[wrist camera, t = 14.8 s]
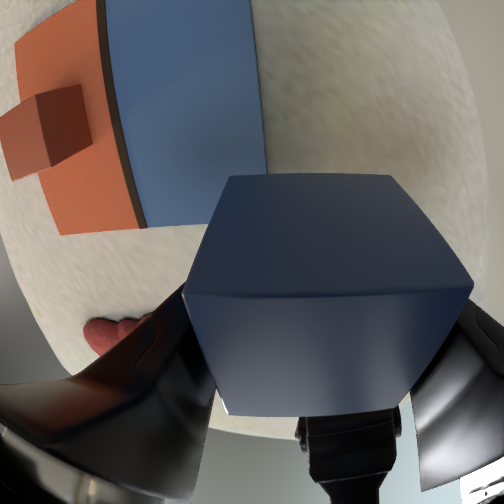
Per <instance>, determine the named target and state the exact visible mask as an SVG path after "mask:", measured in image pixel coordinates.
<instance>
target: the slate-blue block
mask: <svg viewBox="0 0 504 504" xmlns="http://www.w3.org/2000/svg"><path fill="white" fill-rule="evenodd" d="M473 288H474V281H473V280H472V278H471V277H470V275H469V274H468V272H467V271H466V269H465V267H464V266H463V265H462V263H461V262H460V260H459V259H458V257H457V256H456V254H455V253H454V252H453V250H452V249H451V247H450V246H449V245H448V243H447V242H446V241H445V239H444V238H443V237H442V235H441V234H440V233H439V231H438V230H437V229H436V227H435V226H434V225H433V224H432V222H431V221H430V220H429V219H428V217H427V216H426V215H425V214H424V213H423V211H422V210H421V209H420V208H419V207H418V205H417V204H416V203H415V202H414V201H413V200H412V198H411V197H410V196H409V195H408V194H407V193H406V192H405V190H404V189H403V188H402V187H401V186H400V185H399V184H398V183H397V182H396V181H395V180H394V178H393V177H392V176H390V175H376V174H345V173H288V174H257V175H237V176H229V177H228V179H227V182H226V184H225V186H224V189H223V191H222V193H221V196H220V198H219V200H218V203H217V205H216V208H215V210H214V212H213V215H212V217H211V220H210V222H209V224H208V227H207V229H206V232H205V234H204V237H203V239H202V242H201V244H200V247H199V249H198V252H197V254H196V257H195V259H194V262H193V265H192V267H191V270H190V272H189V275H188V278H187V280H186V283H185V286H184V288H183V291H182V297H183V300H184V303H185V306H186V309H187V312H188V314H189V317H190V320H191V323H192V326H193V329H194V331H195V334H196V337H197V340H198V342H199V345H200V348H201V350H202V353H203V356H204V358H205V361H206V363H207V366H208V368H209V371H210V373H211V376H212V378H213V381H214V383H215V386H216V388H217V391H218V393H219V395H220V398H221V400H222V402H223V405H224V407H225V409H226V412H227V414H228V415H236V416H255V417H309V416H328V415H341V414H351V413H360V412H368V411H376V410H383V409H389V408H395V407H396V406H397V405H398V404H399V403H400V402H401V401H402V399H403V398H404V397H405V396H406V394H407V393H408V392H409V391H410V389H411V388H412V387H413V385H414V384H415V383H416V381H417V380H418V379H419V377H420V376H421V375H422V373H423V372H424V370H425V369H426V368H427V366H428V365H429V363H430V362H431V360H432V359H433V357H434V356H435V354H436V353H437V351H438V350H439V348H440V347H441V345H442V344H443V342H444V340H445V339H446V337H447V335H448V334H449V332H450V330H451V329H452V327H453V325H454V324H455V322H456V320H457V318H458V317H459V315H460V313H461V311H462V309H463V307H464V305H465V304H466V302H467V300H468V298H469V296H470V294H471V292H472V290H473Z"/></svg>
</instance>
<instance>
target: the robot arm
mask: <svg viewBox="0 0 504 504" xmlns="http://www.w3.org/2000/svg"><path fill="white" fill-rule="evenodd" d="M185 283H186V282H184V283H183V284H182V285H181V286H180V287H179V288H178V289H177V290H176V291H175V292H174V293H172V294H171V295H170V296H169V297H168V298H167V299H166V300H165V301H164V302H163V303H162V304H161V305H160V306H158V307H157V308H156V309H155V310H154V311H153V312H152V313H151V314H150V317H149V316H148V317H147V318H145V319H144V320H143V321H142V322H141V323H140V324H139V325H138V326H137V327H136V328H135V329H133V330H132V331H131V332H130V333H129V334H128V335H127V336H125V337H124V338H123V339H122V340H121V341H119V342H118V343H117V344H116V345H114V346H113V347H112V348H111V349H109V350H108V351H107V352H105V353H104V354H103V355H102V356H100V357H99V358H98V359H97V360H95V361H94V362H93V363H91V364H90V365H89V366H88V367H86V368H85V369H84V370H82V371H81V372H79V373H77V374H76V375H74V376H71V377H68V378H65V379H58V380H50V381H41V382H30V383H19V384H0V423H1V424H3V425H4V426H5V427H6V428H5V431H4V434H3V435H2V434H1V433H0V504H166V501H167V500H171V501H176V502H181V503H186V504H192V500H193V495H194V491H195V485H196V481H197V477H198V472H199V467H200V462H201V458H202V453H203V448H204V443H205V438H206V433H207V429H208V425H209V420H210V415H211V411H212V406H213V401H214V397H215V392H216V386H215V383H214V381H213V378H212V376H211V373H210V371H209V368H208V366H207V363H206V361H205V358H204V356H203V353H202V350H201V348H200V345H199V342H198V340H197V337H196V334H195V331H194V329H193V326H192V323H191V320H190V317H189V314H188V312H187V309H186V306H185V303H184V300H183V297H182V291H183V288H184V286H185ZM410 396H411V402H412V408H413V414H414V421H415V428H416V433H417V434H416V437H417V445H418V456H419V467H420V484H421V491H422V492H423V491H426V490H430V489H433V488H436V487H438V486H441V485H444V484H447V483H449V482H452V481H455V480H457V479H460V487H461V497H462V501H463V504H504V327H503V326H502V325H501V324H500V323H498V322H497V321H496V320H494V319H493V318H492V317H491V316H490V315H488V314H487V313H486V312H485V311H484V310H482V309H481V308H480V307H479V306H476V304H475V303H474V302H473V301H471V300H470V299H469V298H468V300H467V302H466V304H465V305H464V307H463V309H462V311H461V313H460V315H459V317H458V318H457V320H456V322H455V324H454V325H453V327H452V329H451V330H450V332H449V334H448V335H447V337H446V339H445V340H444V342H443V344H442V345H441V347H440V348H439V350H438V351H437V353H436V354H435V356H434V357H433V359H432V360H431V362H430V363H429V365H428V366H427V368H426V369H425V370H424V372H423V373H422V375H421V376H420V377H419V379H418V380H417V381H416V383H415V384H414V385H413V387H412V388H411V389H410ZM401 429H402V426H401V415H400V409H399V405H397V406H396V407H395V408H389V409H383V410H376V411H368V412H360V413H351V414H341V415H328V416H309V417H299V420H298V424H297V428H296V432H295V439H296V440H297V441H298V442H299V443H300V446H301V449H302V452H303V453H304V454H306V453H308V467H309V474H310V476H311V477H312V479H313V480H314V481H315V483H319V484H320V485H321V487H322V488H323V489H324V490H325V492H326V493H327V494H328V495H329V497H330V504H379V488H380V486H381V484H382V482H383V481H384V479H385V477H386V475H387V474H388V472H389V471H391V469H392V467H393V465H394V463H395V460H396V456H397V451H396V438H397V437H400V436H401Z"/></svg>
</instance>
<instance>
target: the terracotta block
mask: <svg viewBox="0 0 504 504" xmlns="http://www.w3.org/2000/svg"><path fill="white" fill-rule="evenodd" d="M0 141H1V145H2V149H3V153H4V157H5V160H6V164H7V167H8V171H9V174H10V177H11V180H12V182H14V181H16V180H19V179H22V178H24V177H27V176H30V175H32V174H35V173H38V172H41V171H44V170H47V169H49V168H52V167H54V166H55V165H57V164H59V163H60V162H62V161H64V160H66V159H67V158H69V157H71V156H73V155H75V154H76V153H78V152H80V151H82V150H84V149H86V148H88V147H89V146H91V145H93V143H92V139H91V135H90V130H89V126H88V121H87V116H86V111H85V106H84V100H83V95H82V89H81V84H79V85H74V86H69V87H64V88H59V89H55V90H50V91H46V92H42V93H39V94H35V95H33V96H32V97H30V98H28V99H27V100H25V101H24V102H22V103H20V104H19V105H17V106H16V107H14V108H13V109H11V110H10V111H8V112H7V113H6V114H4V115H3V116H1V117H0Z"/></svg>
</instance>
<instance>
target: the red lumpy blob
mask: <svg viewBox="0 0 504 504" xmlns="http://www.w3.org/2000/svg"><path fill="white" fill-rule="evenodd" d="M148 316H149V317H150V315H147V316H144V317H143V318H142V319H141V320H140V321H133V320H122V321H120V323H113V322H109V321H106V320H100V319H93V320H90V321H88V322H87V323H86V324H85V326H84V329H83V332H84V337H85V339H86V341H87V343H88V344H89V346H90V347H91V348H92V349H93V350H94V351H95V352H96V353H97V354H98V355H99V356H102V355H103V354H104V353H105V352H107V351H108V350H109V349H111V348H112V347H113V346H114V345H116V344H117V343H118V342H119V341H121V340H122V339H123V338H124V337H125V336H127V335H128V334H129V333H130V332H131V331H132V330H133V329H135V328H136V327H137V326H138V325H139V324H140V323H141V322H142V321H143V320H144V319H145V318H147V317H148Z"/></svg>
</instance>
